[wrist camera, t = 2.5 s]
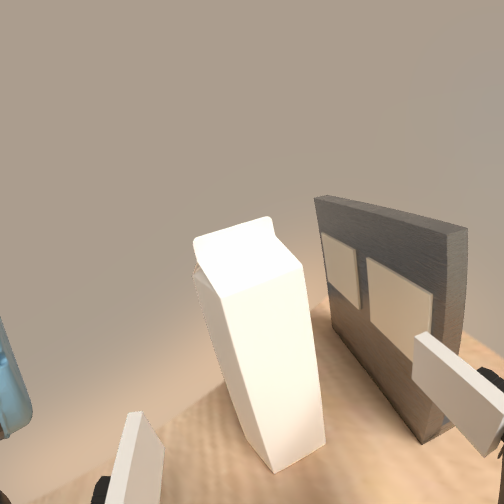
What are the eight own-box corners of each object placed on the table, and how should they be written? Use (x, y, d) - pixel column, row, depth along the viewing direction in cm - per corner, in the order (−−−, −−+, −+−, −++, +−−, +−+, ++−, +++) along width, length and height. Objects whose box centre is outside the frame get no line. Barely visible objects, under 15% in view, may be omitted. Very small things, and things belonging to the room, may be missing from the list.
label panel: (419, 446, 21) (443, 235, 16) (330, 327, 46) (311, 198, 41) (481, 408, 21) (514, 212, 16) (377, 312, 46) (365, 187, 41)
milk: (326, 444, 25) (297, 217, 19) (273, 475, 23) (206, 245, 17) (292, 413, 30) (252, 213, 24) (244, 439, 28) (179, 234, 22)
